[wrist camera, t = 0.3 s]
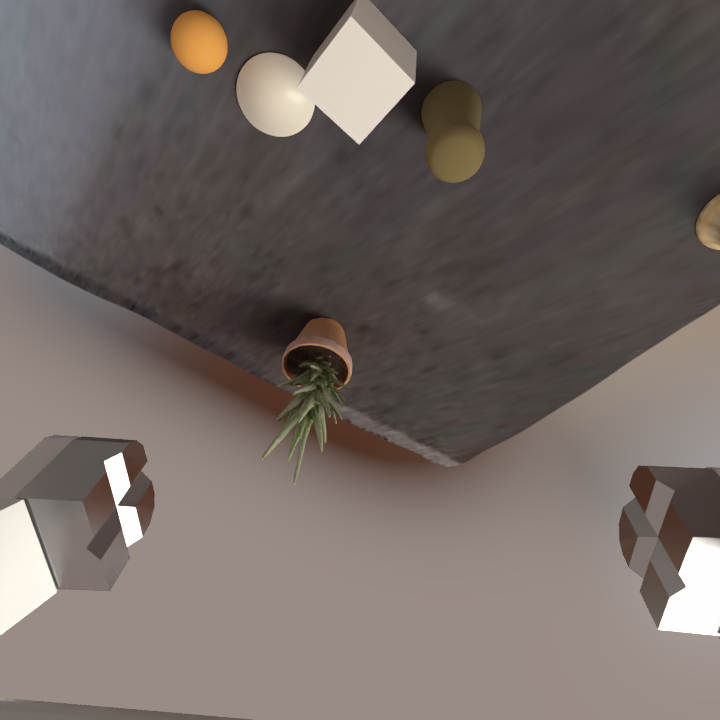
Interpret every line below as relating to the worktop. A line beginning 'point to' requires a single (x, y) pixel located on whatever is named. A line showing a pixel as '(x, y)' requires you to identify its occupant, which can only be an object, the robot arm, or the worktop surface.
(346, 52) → the cream cube
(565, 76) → the worktop surface
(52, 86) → the worktop surface
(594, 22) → the worktop surface
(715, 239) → the hand bell
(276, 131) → the cream domed disc
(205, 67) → the ball
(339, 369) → the potted plant
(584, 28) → the worktop surface
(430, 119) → the cork
